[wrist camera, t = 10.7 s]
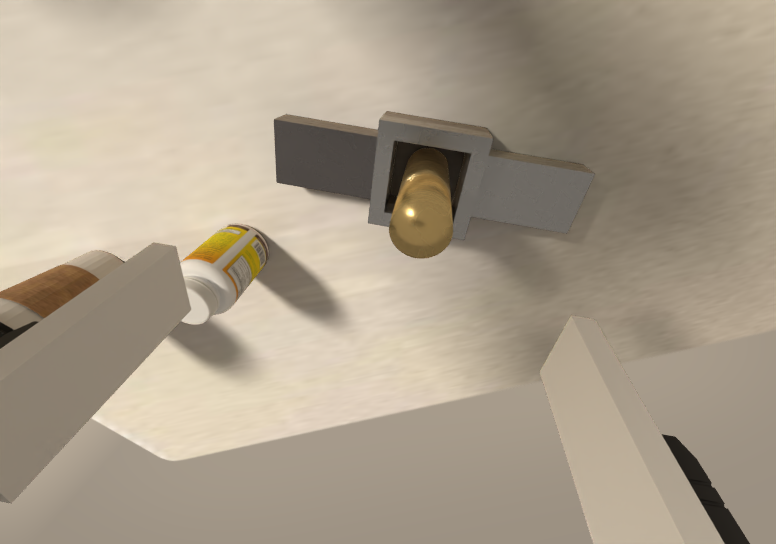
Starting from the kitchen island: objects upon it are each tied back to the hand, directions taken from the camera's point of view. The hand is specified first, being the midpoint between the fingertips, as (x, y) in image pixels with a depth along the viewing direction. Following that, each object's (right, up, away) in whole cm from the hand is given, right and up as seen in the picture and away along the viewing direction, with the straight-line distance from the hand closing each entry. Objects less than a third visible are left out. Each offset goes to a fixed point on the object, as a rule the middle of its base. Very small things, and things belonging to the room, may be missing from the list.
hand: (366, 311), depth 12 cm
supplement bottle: (-14, +4, +24) cm, 29 cm away
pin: (+4, +10, +18) cm, 21 cm away
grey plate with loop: (+4, +10, +18) cm, 21 cm away
